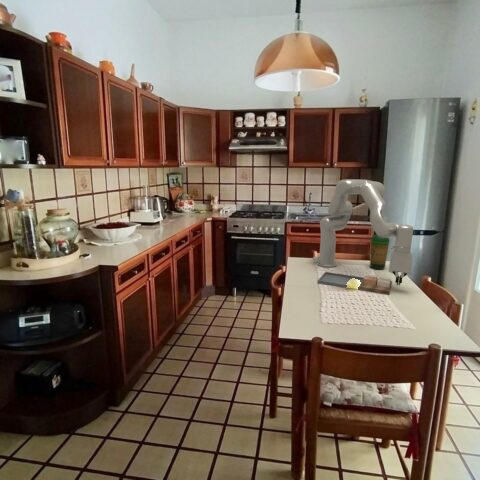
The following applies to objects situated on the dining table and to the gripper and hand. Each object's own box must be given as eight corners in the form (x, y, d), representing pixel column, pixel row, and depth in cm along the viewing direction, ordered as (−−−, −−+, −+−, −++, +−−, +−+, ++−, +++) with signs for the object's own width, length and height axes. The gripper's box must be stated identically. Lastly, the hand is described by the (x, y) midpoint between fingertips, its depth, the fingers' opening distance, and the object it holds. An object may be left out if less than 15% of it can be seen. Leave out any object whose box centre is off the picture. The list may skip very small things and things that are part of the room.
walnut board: (359, 290, 176) (360, 286, 175) (364, 280, 191) (364, 276, 191) (389, 295, 169) (389, 291, 169) (391, 284, 185) (391, 280, 185)
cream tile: (376, 285, 177) (377, 280, 177) (377, 282, 182) (378, 277, 182) (389, 287, 174) (389, 282, 174) (390, 283, 180) (390, 279, 179)
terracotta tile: (363, 283, 180) (364, 278, 179) (365, 280, 185) (365, 275, 185) (375, 285, 177) (376, 280, 177) (377, 281, 183) (377, 277, 182)
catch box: (317, 283, 185) (317, 280, 185) (325, 274, 201) (325, 271, 201) (359, 290, 176) (360, 287, 175) (364, 280, 191) (364, 277, 191)
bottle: (367, 269, 213) (371, 224, 207) (369, 264, 222) (373, 222, 216) (385, 271, 208) (390, 226, 202) (387, 267, 217) (391, 223, 211)
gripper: (385, 249, 171) (382, 284, 175) (419, 253, 165) (414, 289, 169) (386, 246, 178) (383, 279, 182) (419, 249, 171) (414, 284, 175)
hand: (398, 284), depth 175 cm, fingers closed
